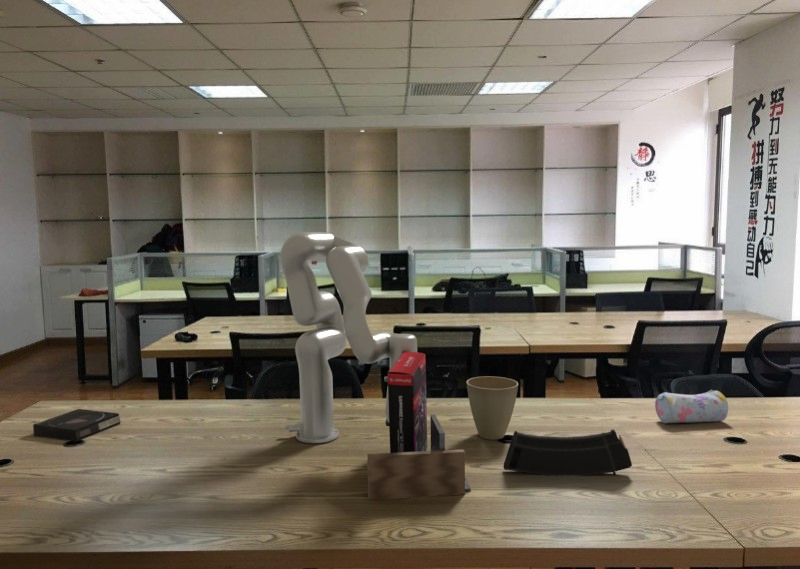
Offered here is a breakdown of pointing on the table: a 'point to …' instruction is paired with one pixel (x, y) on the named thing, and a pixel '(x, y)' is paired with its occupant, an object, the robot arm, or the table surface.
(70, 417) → the portable cd player
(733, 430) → the table surface
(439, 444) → the bookend
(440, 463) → the shelf lip
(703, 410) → the pencil case
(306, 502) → the table surface
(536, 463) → the black curved panel
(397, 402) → the graphics card box
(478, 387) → the plant pot
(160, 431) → the table surface
